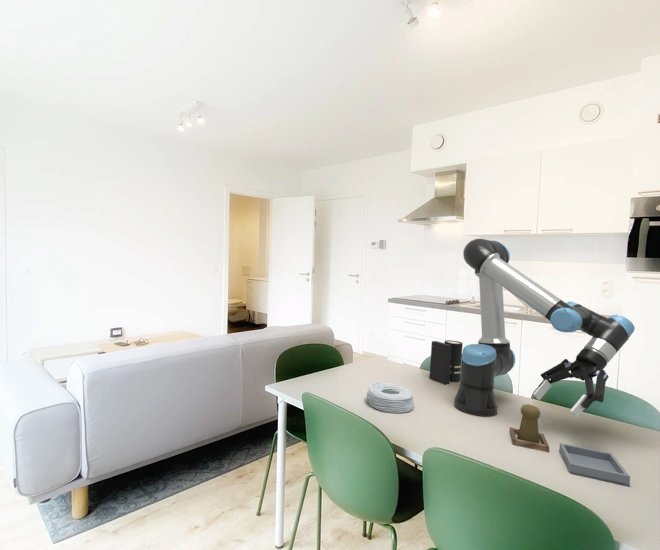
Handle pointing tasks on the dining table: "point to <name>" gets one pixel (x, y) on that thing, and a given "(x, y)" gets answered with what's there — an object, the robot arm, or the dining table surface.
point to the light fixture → (446, 361)
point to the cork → (529, 424)
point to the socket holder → (532, 445)
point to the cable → (390, 398)
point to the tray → (593, 464)
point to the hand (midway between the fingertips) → (553, 405)
